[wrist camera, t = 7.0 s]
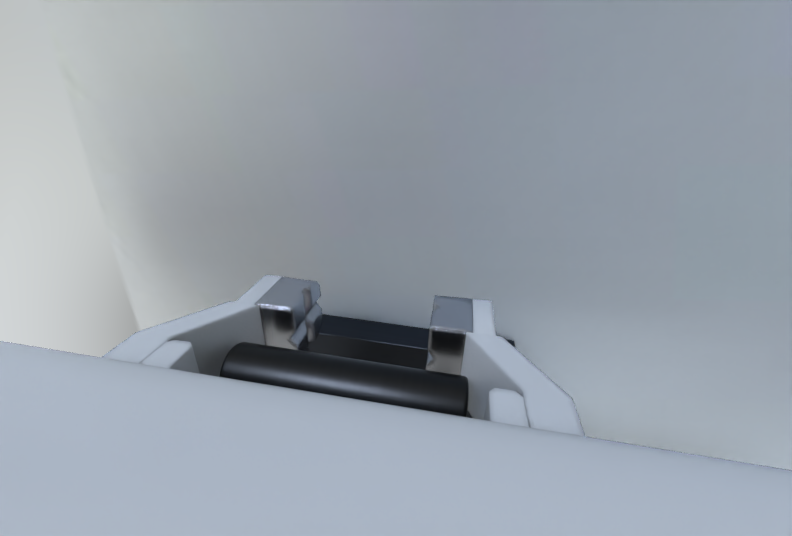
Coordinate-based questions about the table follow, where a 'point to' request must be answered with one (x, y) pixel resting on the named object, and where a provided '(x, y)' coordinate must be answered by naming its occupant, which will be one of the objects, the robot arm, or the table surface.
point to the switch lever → (348, 378)
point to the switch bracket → (374, 342)
